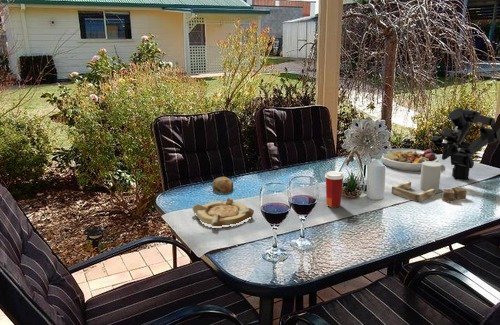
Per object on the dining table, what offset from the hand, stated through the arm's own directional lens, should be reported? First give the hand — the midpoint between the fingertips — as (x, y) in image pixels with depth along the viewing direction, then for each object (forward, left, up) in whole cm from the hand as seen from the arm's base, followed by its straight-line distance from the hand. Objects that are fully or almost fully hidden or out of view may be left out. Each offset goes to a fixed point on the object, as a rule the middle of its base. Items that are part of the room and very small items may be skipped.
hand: (442, 159), depth 196 cm
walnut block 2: (-4, +16, -13) cm, 21 cm away
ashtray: (+92, +50, -13) cm, 106 cm away
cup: (+6, +6, -13) cm, 15 cm away
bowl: (+9, -34, -13) cm, 37 cm away
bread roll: (+100, +19, -13) cm, 103 cm away
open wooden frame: (+14, +14, -13) cm, 23 cm away
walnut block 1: (+1, +19, -13) cm, 23 cm away
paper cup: (+49, +32, -13) cm, 60 cm away
